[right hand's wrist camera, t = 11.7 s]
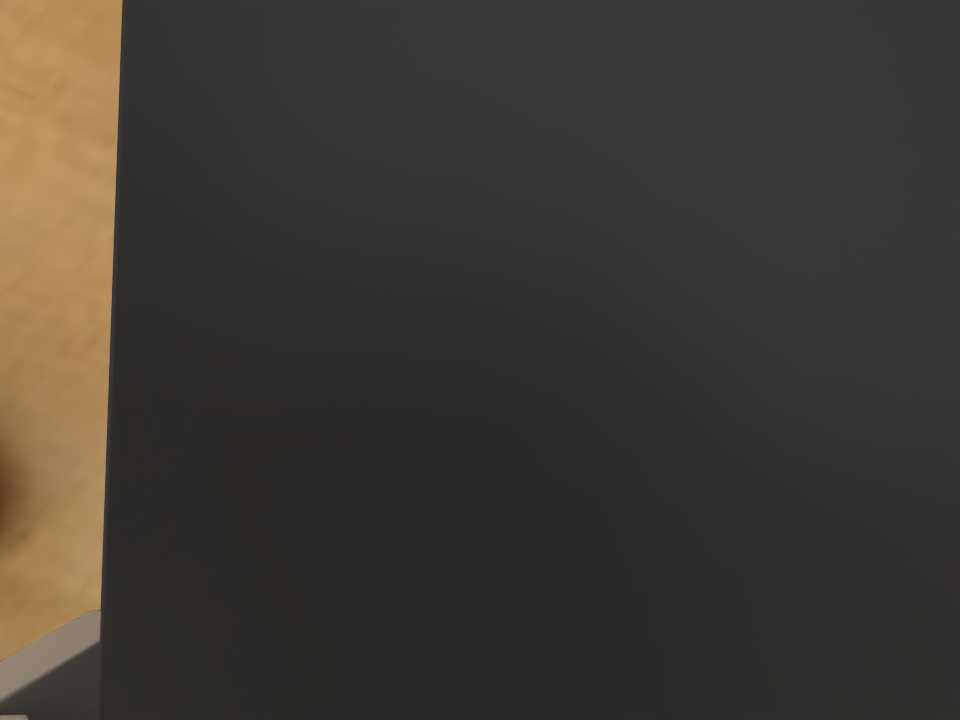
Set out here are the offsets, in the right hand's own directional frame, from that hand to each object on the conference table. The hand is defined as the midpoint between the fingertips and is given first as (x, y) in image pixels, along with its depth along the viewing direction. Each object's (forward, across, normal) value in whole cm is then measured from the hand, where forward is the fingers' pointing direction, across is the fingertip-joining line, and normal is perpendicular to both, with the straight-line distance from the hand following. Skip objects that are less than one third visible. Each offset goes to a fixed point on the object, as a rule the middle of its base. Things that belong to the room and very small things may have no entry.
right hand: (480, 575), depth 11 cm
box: (+5, -2, -8) cm, 10 cm away
